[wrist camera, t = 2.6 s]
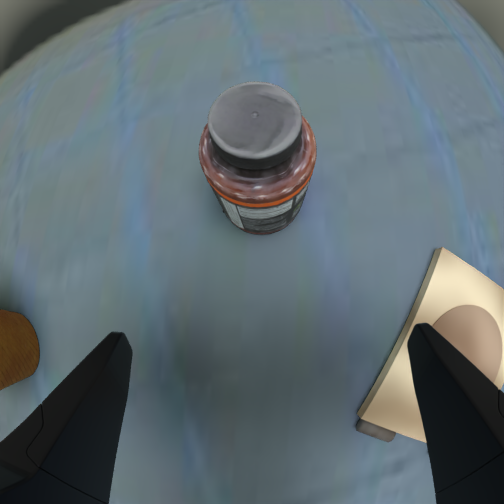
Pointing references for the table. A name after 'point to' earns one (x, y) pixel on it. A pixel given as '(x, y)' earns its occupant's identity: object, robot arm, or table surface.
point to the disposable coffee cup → (16, 348)
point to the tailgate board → (450, 327)
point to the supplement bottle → (258, 156)
